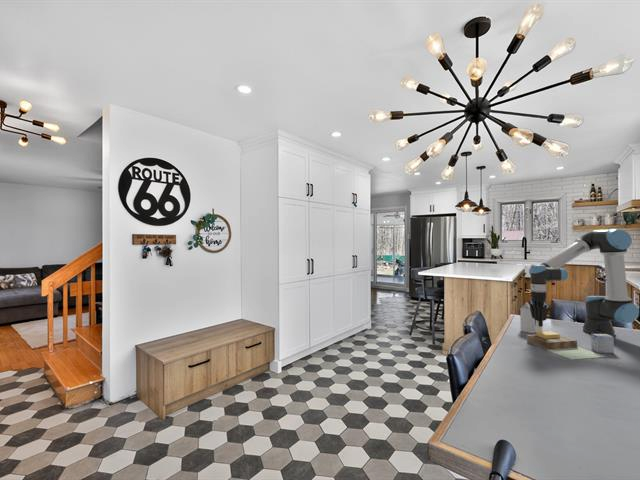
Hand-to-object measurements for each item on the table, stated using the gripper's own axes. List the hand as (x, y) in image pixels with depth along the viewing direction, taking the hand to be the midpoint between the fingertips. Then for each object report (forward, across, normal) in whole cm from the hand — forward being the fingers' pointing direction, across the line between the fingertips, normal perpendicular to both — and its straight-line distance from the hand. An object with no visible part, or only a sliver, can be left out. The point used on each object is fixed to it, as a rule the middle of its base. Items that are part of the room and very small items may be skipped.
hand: (539, 331), depth 183 cm
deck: (+5, +8, 0) cm, 10 cm away
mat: (+5, +22, 0) cm, 23 cm away
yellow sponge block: (+1, +6, 0) cm, 6 cm away
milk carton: (+6, -17, +9) cm, 20 cm away
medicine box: (+6, +22, +17) cm, 28 cm away
